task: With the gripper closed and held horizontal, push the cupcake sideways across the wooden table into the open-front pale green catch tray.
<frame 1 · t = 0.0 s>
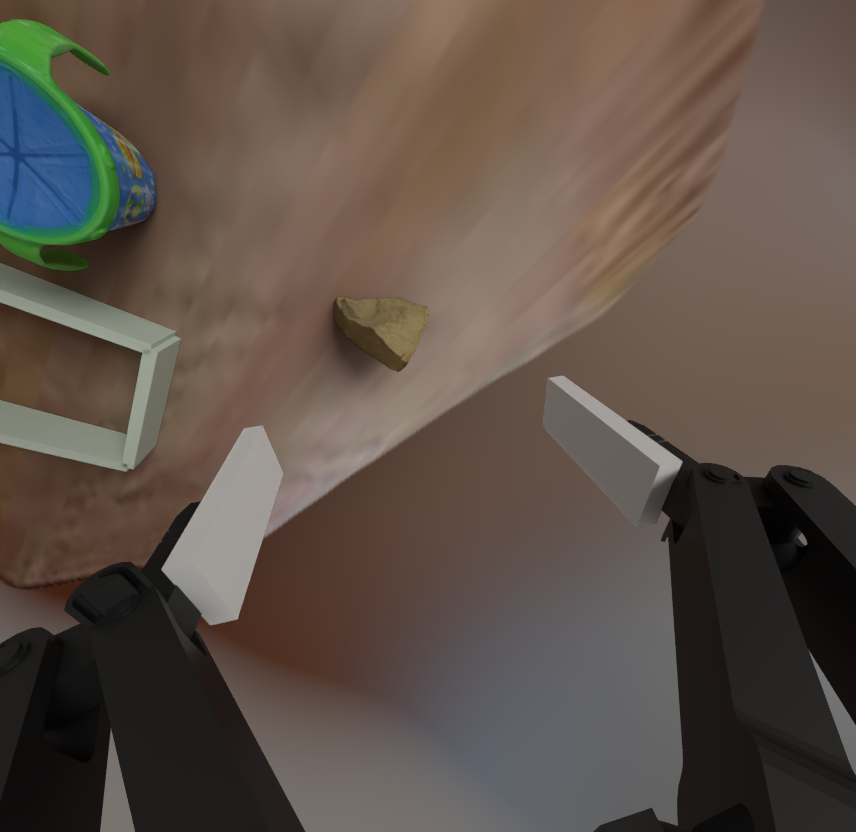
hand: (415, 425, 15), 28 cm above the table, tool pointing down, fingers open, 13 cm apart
rock: (379, 311, 39), on the table
catch tray: (77, 367, 36), on the table
snack cup: (112, 176, 29), on the table
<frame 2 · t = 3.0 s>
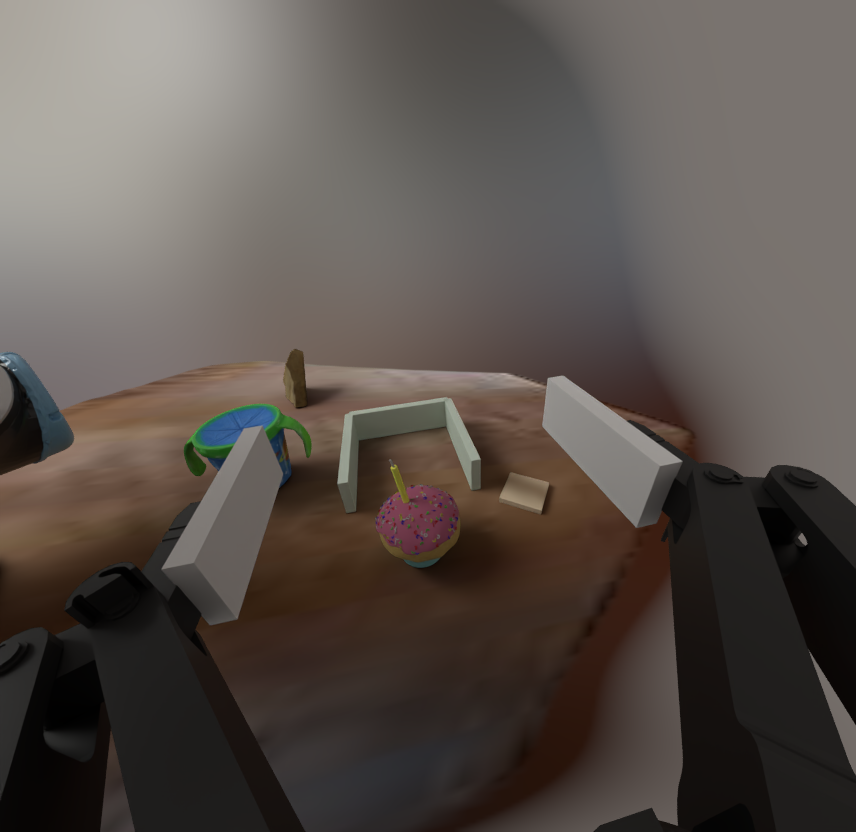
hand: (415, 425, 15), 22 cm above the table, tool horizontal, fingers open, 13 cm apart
rock: (297, 399, 69), on the table
cupcake: (423, 548, 35), on the table
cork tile: (524, 496, 40), on the table
catch tray: (407, 461, 47), on the table
snack cup: (266, 482, 46), on the table
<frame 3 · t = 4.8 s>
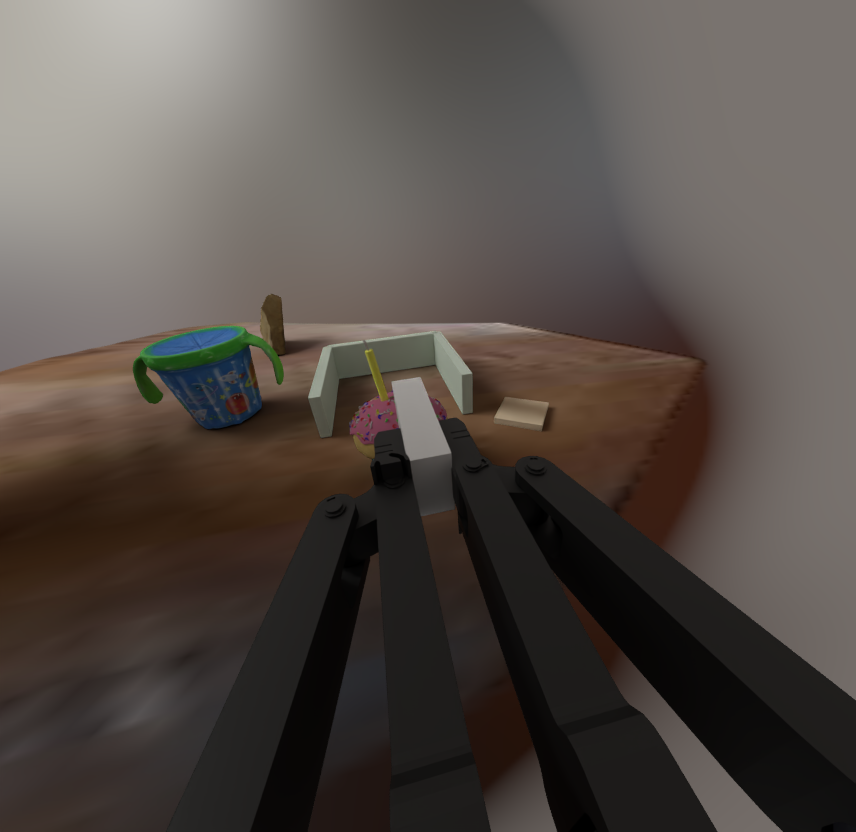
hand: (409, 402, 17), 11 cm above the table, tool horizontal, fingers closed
rock: (276, 350, 64), on the table
cupcake: (406, 465, 30), on the table
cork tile: (521, 419, 36), on the table
catch tray: (392, 393, 43), on the table
snack cup: (232, 416, 41), on the table
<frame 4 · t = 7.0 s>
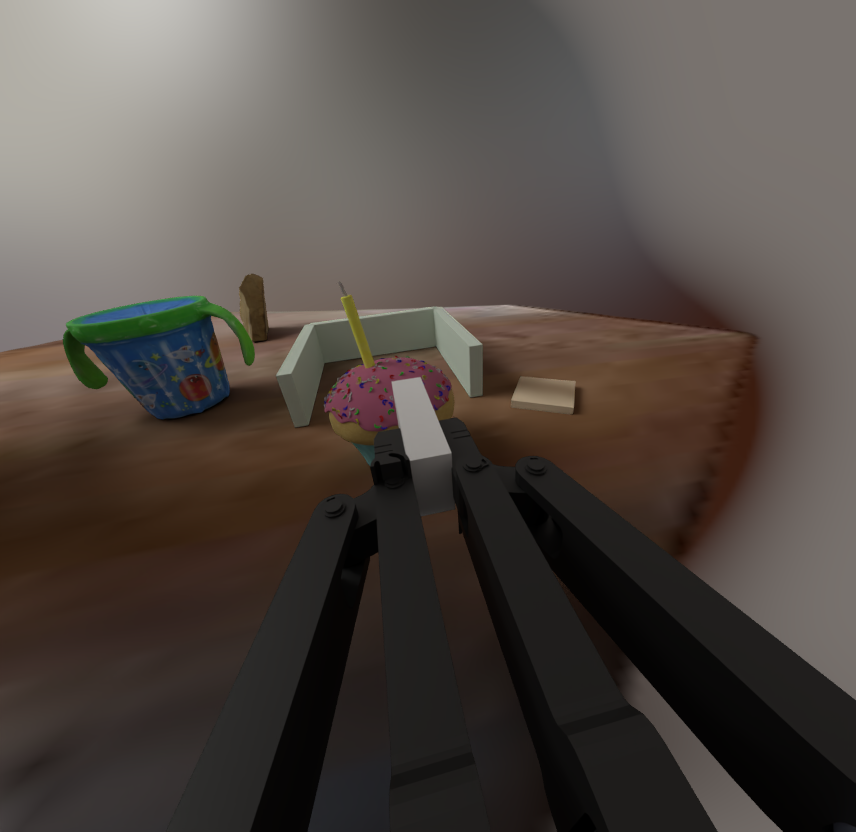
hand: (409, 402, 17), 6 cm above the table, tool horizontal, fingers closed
rock: (257, 336, 57), on the table
cupcake: (400, 454, 24), on the table, touching gripper
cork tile: (543, 402, 29), on the table
catch tray: (385, 376, 36), on the table
snack cup: (194, 405, 34), on the table
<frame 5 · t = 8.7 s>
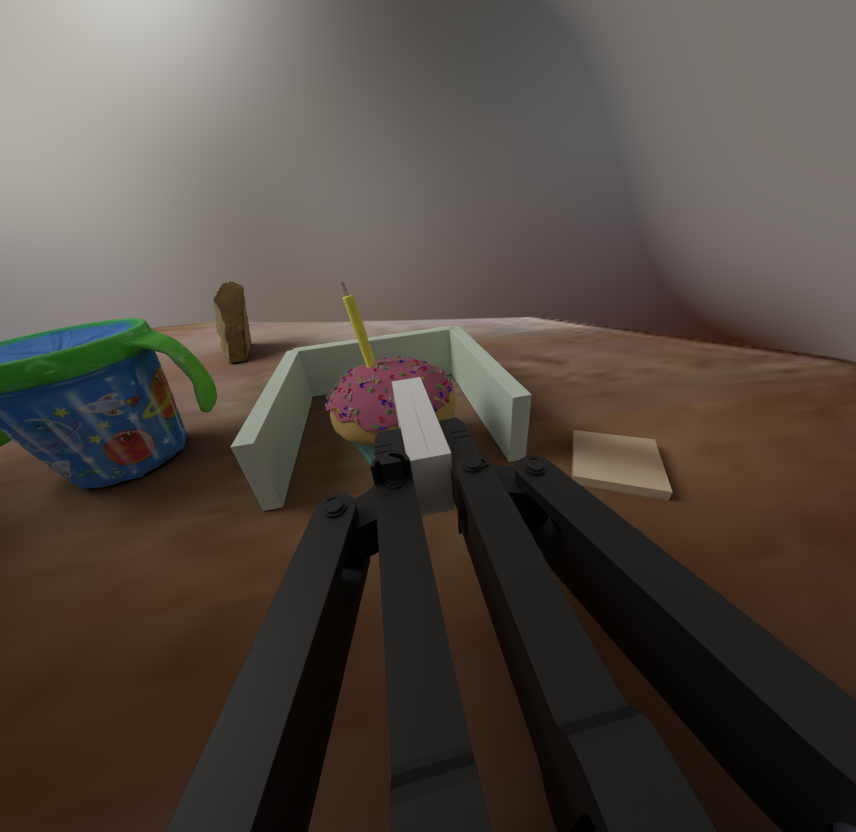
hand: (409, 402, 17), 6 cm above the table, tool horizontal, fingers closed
rock: (237, 355, 49), on the table
cupcake: (401, 454, 24), on the table, touching gripper
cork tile: (612, 470, 21), on the table
catch tray: (390, 420, 28), on the table
snack cup: (138, 461, 26), on the table
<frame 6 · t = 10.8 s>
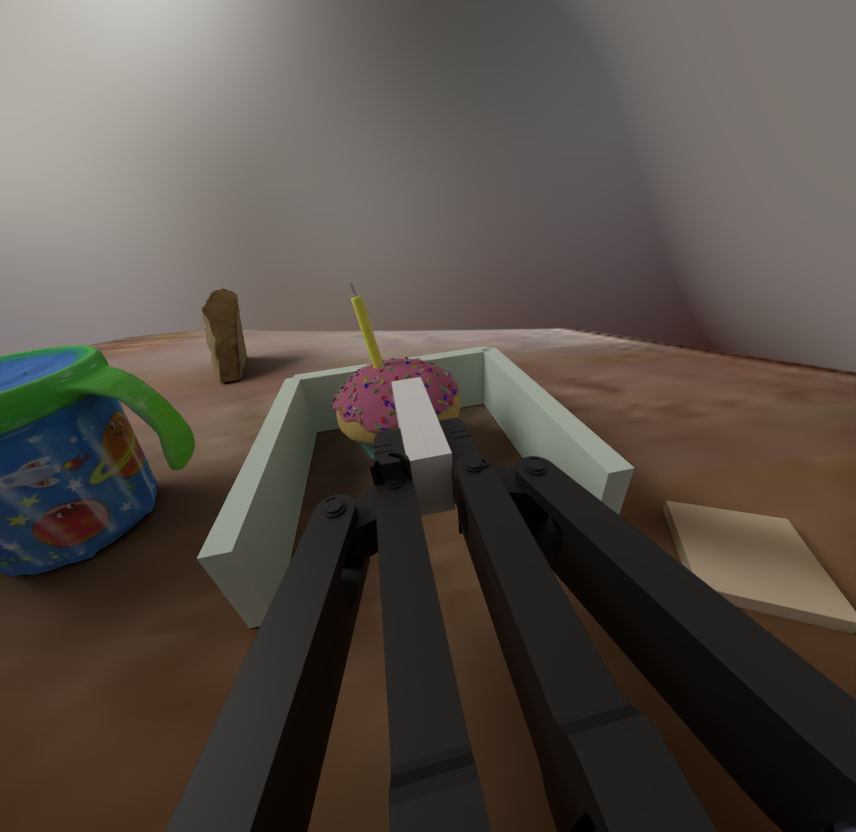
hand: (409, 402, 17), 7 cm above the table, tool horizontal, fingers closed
rock: (231, 371, 43), on the table
cupcake: (407, 454, 24), on the table, touching gripper
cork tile: (735, 566, 15), on the table
catch tray: (415, 472, 22), on the table
snack cup: (94, 527, 20), on the table
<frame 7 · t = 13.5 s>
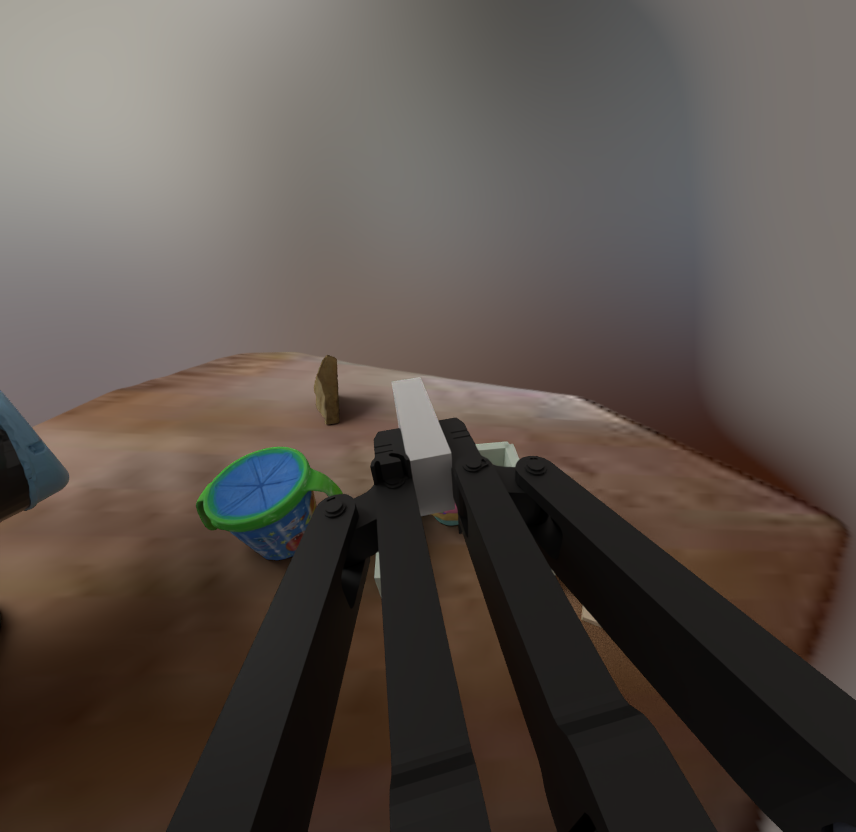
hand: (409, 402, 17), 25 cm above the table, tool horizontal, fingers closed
rock: (328, 410, 61), on the table
cupcake: (452, 510, 41), on the table
catch tray: (456, 524, 39), on the table
snack cup: (290, 534, 40), on the table
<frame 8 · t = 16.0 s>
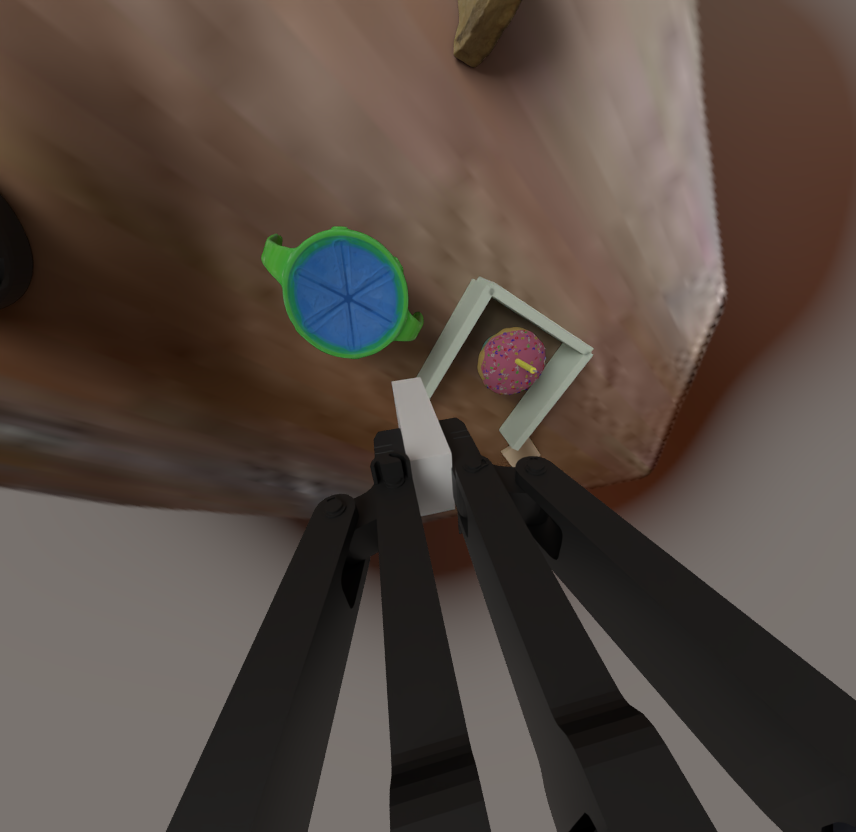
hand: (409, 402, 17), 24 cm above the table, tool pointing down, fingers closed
cupcake: (498, 350, 43), on the table
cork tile: (518, 450, 53), on the table
catch tray: (490, 366, 44), on the table
snack cup: (351, 283, 36), on the table
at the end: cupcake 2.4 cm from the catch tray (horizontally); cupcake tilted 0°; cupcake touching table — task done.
